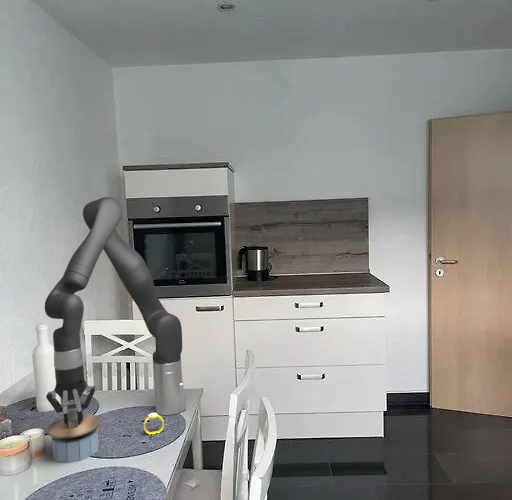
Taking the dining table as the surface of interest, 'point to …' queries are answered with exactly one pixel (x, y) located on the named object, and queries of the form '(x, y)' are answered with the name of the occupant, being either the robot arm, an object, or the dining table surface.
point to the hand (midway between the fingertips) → (73, 423)
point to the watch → (152, 416)
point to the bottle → (44, 369)
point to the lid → (73, 425)
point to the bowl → (75, 447)
